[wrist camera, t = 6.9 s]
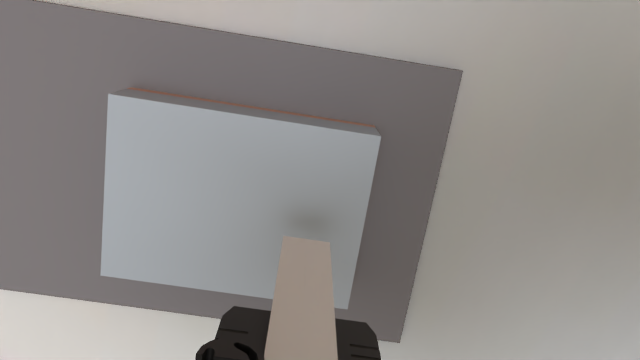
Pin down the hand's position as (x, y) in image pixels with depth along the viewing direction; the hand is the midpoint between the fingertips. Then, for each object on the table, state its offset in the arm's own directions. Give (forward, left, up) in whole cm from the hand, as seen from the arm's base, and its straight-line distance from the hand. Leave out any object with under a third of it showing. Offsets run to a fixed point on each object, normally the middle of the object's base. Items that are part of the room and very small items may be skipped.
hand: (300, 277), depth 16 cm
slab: (-3, 0, -7) cm, 7 cm away
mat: (+5, 0, -8) cm, 10 cm away
